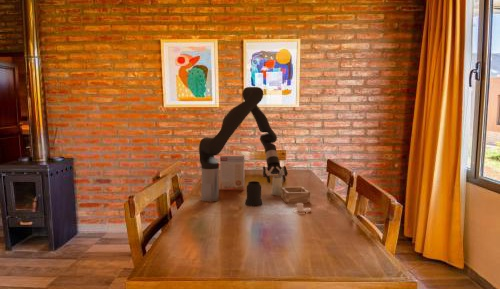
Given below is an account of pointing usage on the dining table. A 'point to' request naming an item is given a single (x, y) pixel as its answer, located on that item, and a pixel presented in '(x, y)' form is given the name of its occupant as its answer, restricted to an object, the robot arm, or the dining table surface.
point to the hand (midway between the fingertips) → (276, 182)
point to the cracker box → (232, 172)
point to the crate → (295, 195)
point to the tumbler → (276, 185)
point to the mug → (253, 194)
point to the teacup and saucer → (301, 208)
